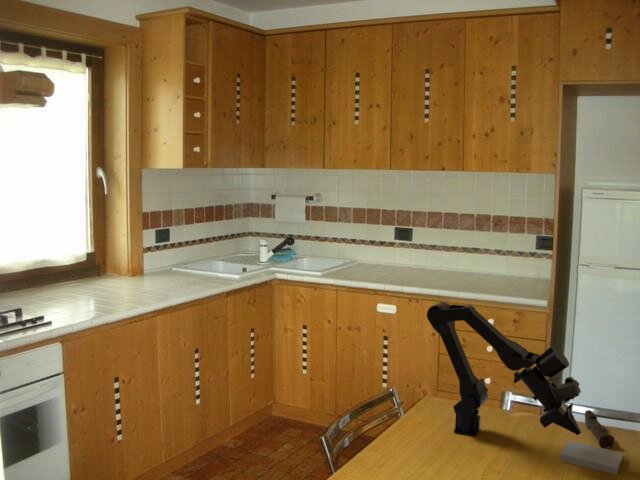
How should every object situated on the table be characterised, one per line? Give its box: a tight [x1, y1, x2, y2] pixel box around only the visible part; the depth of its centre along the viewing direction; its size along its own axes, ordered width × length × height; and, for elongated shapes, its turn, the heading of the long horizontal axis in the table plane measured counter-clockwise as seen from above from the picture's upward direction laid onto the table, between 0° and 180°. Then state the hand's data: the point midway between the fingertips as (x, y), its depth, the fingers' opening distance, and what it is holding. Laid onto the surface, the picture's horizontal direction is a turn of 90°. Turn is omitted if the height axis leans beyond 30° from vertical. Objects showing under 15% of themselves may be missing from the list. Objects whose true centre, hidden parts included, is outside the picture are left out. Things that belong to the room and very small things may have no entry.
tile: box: [559, 440, 623, 475], centre depth 180 cm, size 2×10×14 cm
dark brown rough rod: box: [584, 409, 615, 448], centre depth 197 cm, size 19×4×5 cm, turn 173°
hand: (579, 433), depth 181 cm, fingers closed
